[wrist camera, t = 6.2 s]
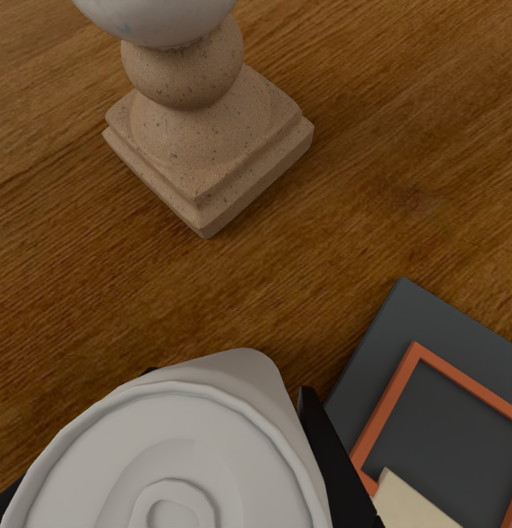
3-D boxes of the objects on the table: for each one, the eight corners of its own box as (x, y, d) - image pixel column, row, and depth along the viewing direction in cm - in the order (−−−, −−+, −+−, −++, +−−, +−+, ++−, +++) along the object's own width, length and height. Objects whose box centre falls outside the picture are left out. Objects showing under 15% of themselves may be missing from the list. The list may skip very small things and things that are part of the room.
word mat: (429, 893, 10) (449, 960, 9) (188, 626, 12) (181, 654, 11) (602, 403, 14) (630, 409, 13) (398, 277, 16) (407, 273, 15)
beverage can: (190, 424, 14) (-119, 768, 3) (215, 338, 16) (70, 335, 4) (274, 451, 14) (308, 1002, 2) (293, 359, 15) (375, 423, 4)
